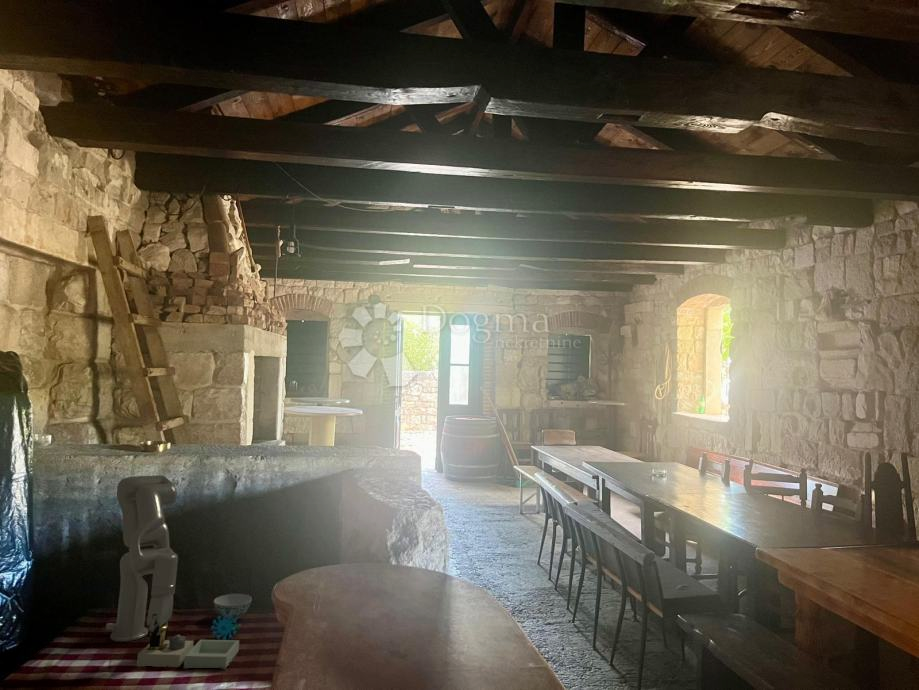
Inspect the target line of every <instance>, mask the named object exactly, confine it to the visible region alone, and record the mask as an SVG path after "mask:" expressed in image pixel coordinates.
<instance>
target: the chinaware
mask: <svg viewBox="0 0 919 690" xmlns="http://www.w3.org/2000/svg"><path fill="white" fill-rule="evenodd" d="M252 600H253V598H252V596H251V595H249V594H243V593H231V594H225V595H224V594H223V595H220V596H218V597H216V598H215V599H214V600H213V605H214V610H215V612H216V613H217V614H218V616H221V618H223V615H224V614H226V615H227V617H226V618H225V620H226V619H228V618H229V616H230V615H231V616H232V617H233V618H232V619H231V620H229V621H233V620H235V619H236V621H238V620H240V619H239V618H241V616H243V615H244V614H245V613H246V612H247V611H248V610H249V607H250V606H251V604H252ZM237 619H238V620H237Z"/></svg>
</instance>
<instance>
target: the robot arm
mask: <svg viewBox="0 0 919 690" xmlns="http://www.w3.org/2000/svg"><path fill="white" fill-rule="evenodd" d="M177 491H178V490H177V488H176V486H175V485H174V483H173V482H172V481H171V480H170V479H168V477H166V476H165V475H137V476H129V477H124V478H123V479H120V481H119V482H118V484H117V486H116V497H117V502H118V505H119V507H120V511H121V516H122V538H123V539H122V540H123V543H124V546H125V547H127V548H128V552H125V553H124V554H123V555H122V556H121V558H120V561H119V573H120V586H119V596H118V606H117V607H118V608H117V614H116V615H117V617H116V622H115V623H114V622H113V623H112V622H111V623H110V622H107V623H106V625H105V631H107V632H108V631H111V634H110V639H111V640H112V641H114V642H122V643H123V642H131V641H132V642H133V641H135V640H136V641H137V640H139V639H142V638H144V637H147V635H148V633H150V634H149V636H150V638H149V644H150V647H159V646H160V637H161V634H160V630H161V625H163V624H168V625H169V623H170V619H171V618H172V615H173V609H174V608H173V607H174V594H175V593H176V582H177V573H178V561H179V556H178V554H177V553H176V552H174V550H173V549H172V548H171V547H170V534H169V533H170V532H169V526H168V524H167V523H166V519H165V513H164V507H163V506H172V505H174V504H175V503H176V502H177V499H178V492H177ZM147 546H153V547H151V548H143V549H141V547H147ZM151 574H152V583H151V591H150V592H151V593H150V595H151V597H150V602H149V606H148V612H147V613H148V614H147V618H146V611H147V603H148V602H147V601H148V589H149V586H148V583H147V581H146V580H145V579H144V578H143V576H145V575H151ZM145 620H146V626H147V627H148V628H147V627H145ZM156 624H158V625H156ZM155 627H158V630H157V629H155ZM168 631H169V627H168V628H167V629H166V633H165V640H168Z"/></svg>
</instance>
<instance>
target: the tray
mask: <svg viewBox="0 0 919 690" xmlns="http://www.w3.org/2000/svg"><path fill="white" fill-rule="evenodd" d="M239 648H240V640H232V639H226V640H222V639H199V640H198V641H197V642H196V644H195V645H193V648H192V649H191V650H190V651H189V652H188V653H187V654H186V655H185V659H184V662H183V669H188V668H221V669H220V670H226V669H227V668H226V667H227V666H230V664H231V663H232V661H233V660H234V658H235V657H236V656H237V654H238V653H239V651H240V649H239ZM230 662H231V663H230ZM229 663H230V664H229Z"/></svg>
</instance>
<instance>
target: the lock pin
mask: <svg viewBox="0 0 919 690" xmlns="http://www.w3.org/2000/svg"><path fill="white" fill-rule="evenodd" d="M156 625H158V624H157V623H156ZM167 628H168V629H169V623H168V624H163V625H161V630H160V634H161V637H160V646H159V647H151V650H163V649H164V643H165V633H166V629H167ZM155 629H157V630H158V627H155Z"/></svg>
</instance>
